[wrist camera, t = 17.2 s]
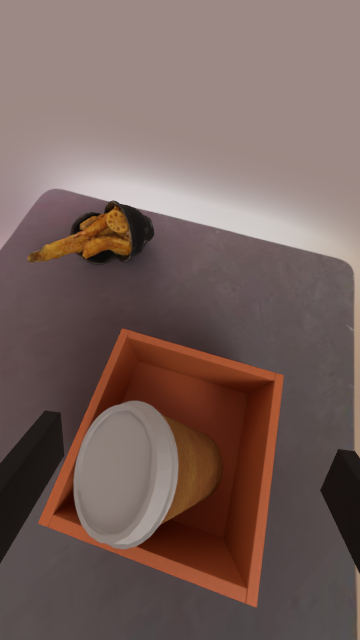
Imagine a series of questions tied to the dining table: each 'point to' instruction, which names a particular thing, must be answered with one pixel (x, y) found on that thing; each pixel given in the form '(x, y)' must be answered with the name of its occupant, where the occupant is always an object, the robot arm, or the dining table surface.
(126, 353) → the open box
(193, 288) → the dining table surface
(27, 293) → the dining table surface
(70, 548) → the dining table surface
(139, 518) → the disposable coffee cup
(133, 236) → the fried shrimp in bowl
